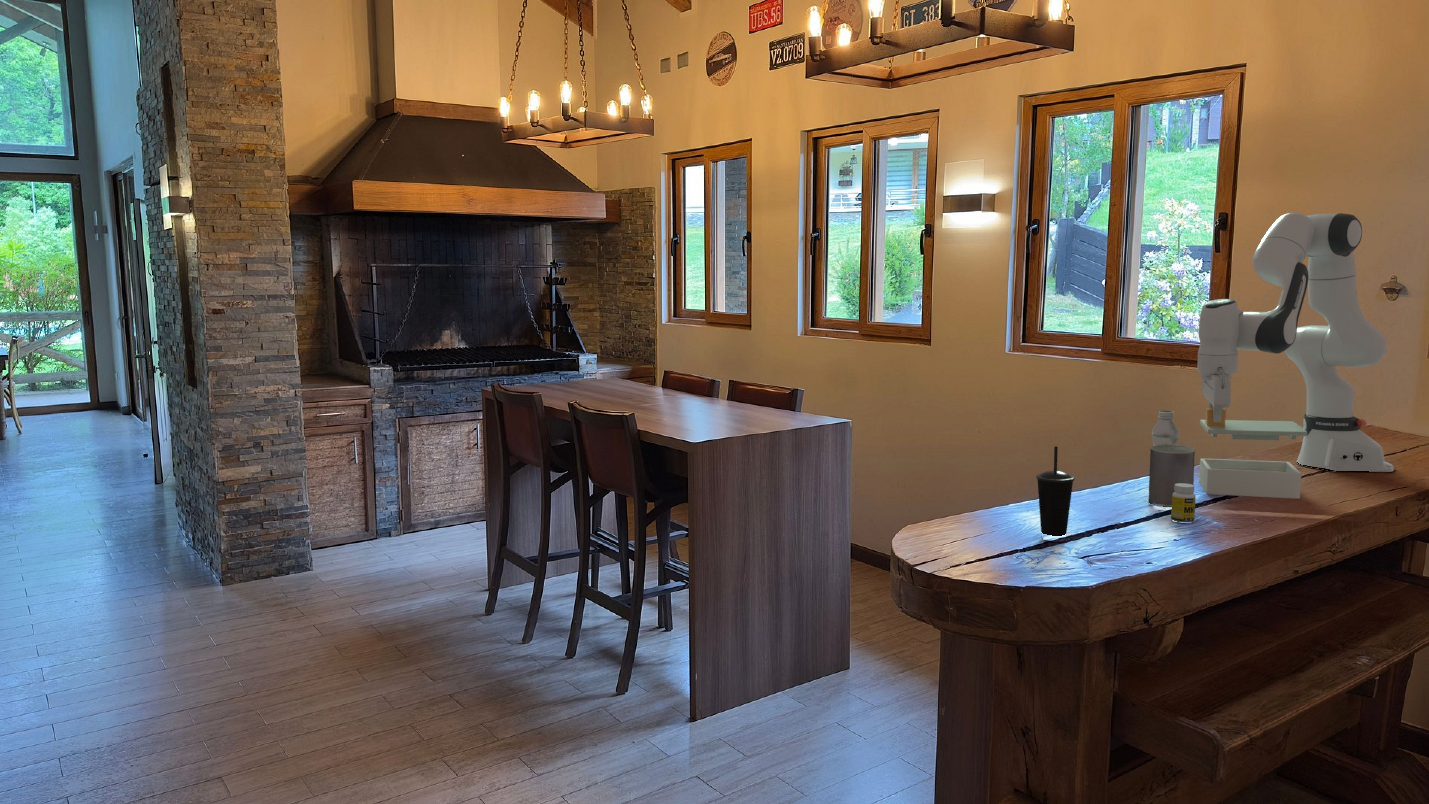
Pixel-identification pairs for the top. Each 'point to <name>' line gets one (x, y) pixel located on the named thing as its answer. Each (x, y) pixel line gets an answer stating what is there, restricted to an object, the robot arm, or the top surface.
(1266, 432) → the lid
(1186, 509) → the supplement bottle
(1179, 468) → the pillar candle
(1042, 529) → the drinking cup
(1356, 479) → the top surface
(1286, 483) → the tub
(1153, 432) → the plastic bottle
